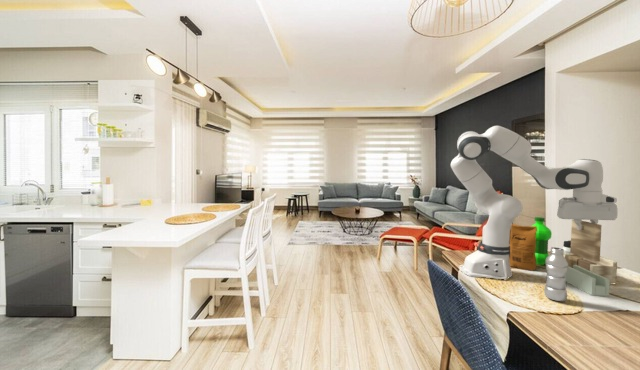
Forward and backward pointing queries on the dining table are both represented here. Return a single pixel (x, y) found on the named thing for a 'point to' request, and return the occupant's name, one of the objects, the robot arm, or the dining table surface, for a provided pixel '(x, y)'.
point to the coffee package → (523, 247)
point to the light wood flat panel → (586, 240)
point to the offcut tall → (585, 263)
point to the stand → (588, 281)
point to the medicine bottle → (567, 246)
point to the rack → (601, 267)
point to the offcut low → (571, 264)
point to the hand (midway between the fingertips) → (585, 229)
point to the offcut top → (574, 259)
